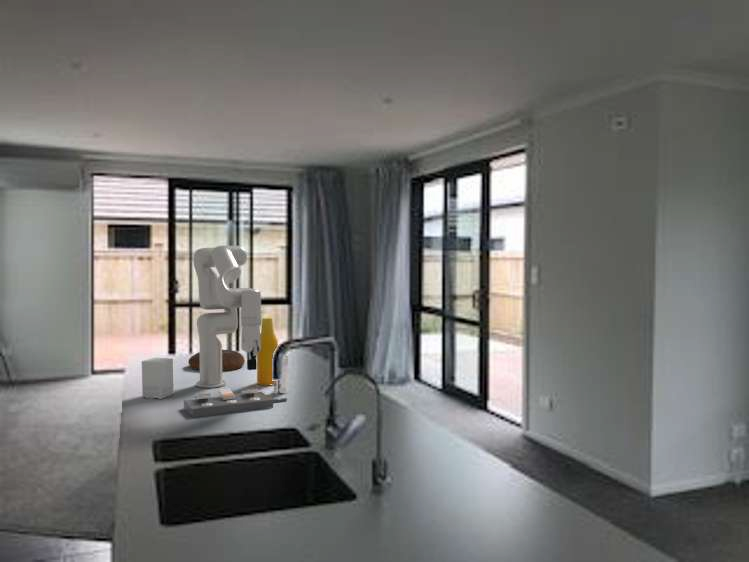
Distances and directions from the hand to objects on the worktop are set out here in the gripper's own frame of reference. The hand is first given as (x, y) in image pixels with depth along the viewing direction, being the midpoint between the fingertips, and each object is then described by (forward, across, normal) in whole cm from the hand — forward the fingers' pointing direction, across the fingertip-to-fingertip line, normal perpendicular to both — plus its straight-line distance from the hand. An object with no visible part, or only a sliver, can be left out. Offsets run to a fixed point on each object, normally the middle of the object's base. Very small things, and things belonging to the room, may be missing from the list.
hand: (251, 369), depth 239 cm
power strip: (+14, 0, -5) cm, 15 cm away
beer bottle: (+13, -34, +18) cm, 40 cm away
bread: (+12, -82, +8) cm, 84 cm away
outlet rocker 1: (+10, -3, -9) cm, 14 cm away
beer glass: (+14, -15, +17) cm, 26 cm away
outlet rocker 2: (+10, -3, 0) cm, 10 cm away
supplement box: (+13, -32, -29) cm, 45 cm away
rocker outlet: (+9, -3, -18) cm, 21 cm away
